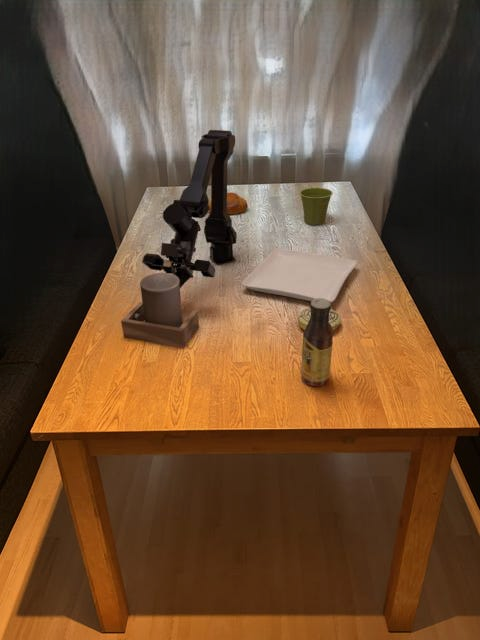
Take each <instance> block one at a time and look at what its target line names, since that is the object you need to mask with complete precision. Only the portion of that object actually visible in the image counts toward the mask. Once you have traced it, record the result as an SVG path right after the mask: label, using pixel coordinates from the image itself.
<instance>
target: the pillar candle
mask: <svg viewBox="0 0 480 640" xmlns="http://www.w3.org/2000/svg"><path fill="white" fill-rule="evenodd" d="M179 281H180V280H179V278H178V277H177V276H175V275H173V274H171V273H166V272H157V273H151V274H148V275H146V276H145V277H143V278H142V279H141V280H140V283H139V286H140V287H139V288H140V293H141V294H140V295H141V302H142V303H143V309H144V317H145V321H144V322H147V323H153V324H159V325H166V326H172V327H178V328H180V327H181V325H182V324H183V322H184V320H183V319H184V318H183V307H182V297H181V296H182V295H181V288H180V283H179Z"/></svg>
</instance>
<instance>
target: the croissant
mask: <svg viewBox="0 0 480 640" xmlns="http://www.w3.org/2000/svg"><path fill="white" fill-rule="evenodd" d="M208 204H209V210H208V212H209V214H210V213H211V200H209V203H208ZM247 208H248V201H247V200H246V199H245V198H244V197H241V196H240V195H239V194H237V193H236V192H227V213H228V214H229V215H237V214H241V213H244V212H246V210H247Z"/></svg>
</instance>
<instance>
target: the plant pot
mask: <svg viewBox="0 0 480 640" xmlns="http://www.w3.org/2000/svg"><path fill="white" fill-rule="evenodd" d="M298 193H299V195H300V198H301V201H302V209H303V217H304V222H305V224H306V225H309V226H313V225H315V226H321V225H324V223H325V222H326V217H327V214H328V213H327V212H328V208H329V205H330V201H331V198H332V195H334V194H333V193H334V192H333V191H332V189H331V190H330V189H328V188H325V187H324V188H323V187H309V188H303V189H301V190H300V191H299V192H298Z"/></svg>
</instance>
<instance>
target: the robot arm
mask: <svg viewBox="0 0 480 640" xmlns="http://www.w3.org/2000/svg"><path fill="white" fill-rule="evenodd" d="M232 132H233V131H231V130H223V129H222V130H219V129H210V130H208V132H207V133H205V134H203V135H201V137H200V138H201V139H199V141H198V153H197V155H196V161H195V163H194V167H193V171H192V174H191V179H190V181H189V184H188V186H186V187H185V188H184V189H183V191H182V193H181V196H179V197H180V198H179V199H174V200H173V203H172V204H169V205H167V207H166V208H165V209H164V210H163V212H162V219H163V221H164V222H165V223H166V224H167V225H168V226H169V227H170V229H171V230H172V231H173V232H175V234H174V238H171V240H170V243H166V242H161V248H160V255H159V254H156V253H154V254H153V253H148V252H147V253H146V254H144V255H143V257H142V260H141V263H142V264H143V265H145V266H146V267H147V268H148V269H150V270H153V271H159V272H160V271H164V273H171V274H173V275H175V276H177V277H178V278H179V280H180V281H179V283H180V289H181V288H182V287H183V286H184V284H185V283H186V282H188V281H189V280H190V279H193V278H194V271H195V272H200V273H201V275H202V277H206V278H215V276H216V268H215V266H214V265H213V264H212V262H214V263H215V264H216V265H218V266H219V265H223V264H226V263H227V264H228V263H231V262H236V258H235V257H234V247H233V246H234V244H237V238H238V237H237V231H236V229H234V227H233V219H232V218H231V216H230V214H228V213H227V193H228V162H229V161H230V159H231V157H232V156H233V154H234V148H235V145H236V136H235V135H234V134H233V133H232ZM210 179H211V180H210ZM210 182H211V183H210ZM209 183H210V184H211V187H210V192H211V193H210V194H211V195H210V197H211V199H210V200H209V197H208V193H207V191H208V186H209ZM210 201H211V213H210V212H209V204H208V203H209V202H210ZM208 214H209V215H208ZM207 215H208V216H207ZM206 216H207V217H206ZM205 217H206V218H205ZM195 218H196V219H204V218H205V220H204V227H203V228H204V229H203V232H204V238H205V241H206V244H210V246H209V259H211V260H212V262H211V261H210V260H204V259H197V258H196V260H194V262H192V260H193V256H194V255H193V254H194V253H196V250H197V248H196V247H195V246H196V242H197V239H198V234H199V232H201V231H202V229H201V226H200V224H199V221H198V220H196V219H195ZM162 257H165V258H167V259H164V258H162Z"/></svg>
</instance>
